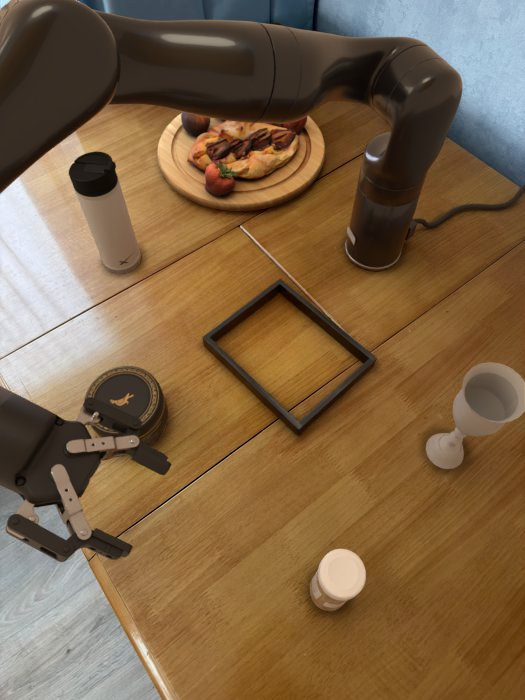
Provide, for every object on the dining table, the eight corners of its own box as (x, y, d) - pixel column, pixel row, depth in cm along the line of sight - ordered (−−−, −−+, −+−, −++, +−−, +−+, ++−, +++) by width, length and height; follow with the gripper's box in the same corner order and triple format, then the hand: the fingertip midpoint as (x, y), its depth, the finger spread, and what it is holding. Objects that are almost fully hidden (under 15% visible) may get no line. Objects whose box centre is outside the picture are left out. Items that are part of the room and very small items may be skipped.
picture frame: (279, 287, 85) (280, 278, 83) (374, 366, 78) (377, 358, 76) (203, 345, 80) (202, 336, 78) (297, 436, 72) (298, 429, 70)
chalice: (436, 416, 74) (482, 350, 58) (480, 446, 72) (540, 385, 56) (408, 455, 71) (449, 397, 55) (453, 487, 69) (509, 436, 53)
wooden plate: (269, 240, 91) (270, 204, 83) (124, 173, 99) (113, 135, 92) (353, 137, 104) (360, 98, 97) (219, 86, 113) (216, 47, 106)
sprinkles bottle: (337, 619, 61) (354, 608, 49) (302, 597, 62) (311, 582, 50) (353, 581, 63) (374, 562, 51) (319, 561, 64) (332, 538, 52)
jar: (185, 422, 73) (177, 398, 67) (127, 472, 70) (113, 451, 63) (141, 377, 77) (130, 350, 70) (83, 421, 73) (66, 397, 67)
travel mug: (136, 277, 86) (105, 181, 69) (98, 271, 87) (58, 174, 70) (148, 249, 90) (121, 150, 72) (111, 243, 90) (75, 144, 73)
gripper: (-68, 487, 40) (125, 577, 43) (37, 350, 49) (191, 432, 52) (-65, 512, 46) (105, 590, 48) (29, 386, 55) (168, 457, 57)
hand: (149, 508), depth 50 cm, fingers open, 8 cm apart
